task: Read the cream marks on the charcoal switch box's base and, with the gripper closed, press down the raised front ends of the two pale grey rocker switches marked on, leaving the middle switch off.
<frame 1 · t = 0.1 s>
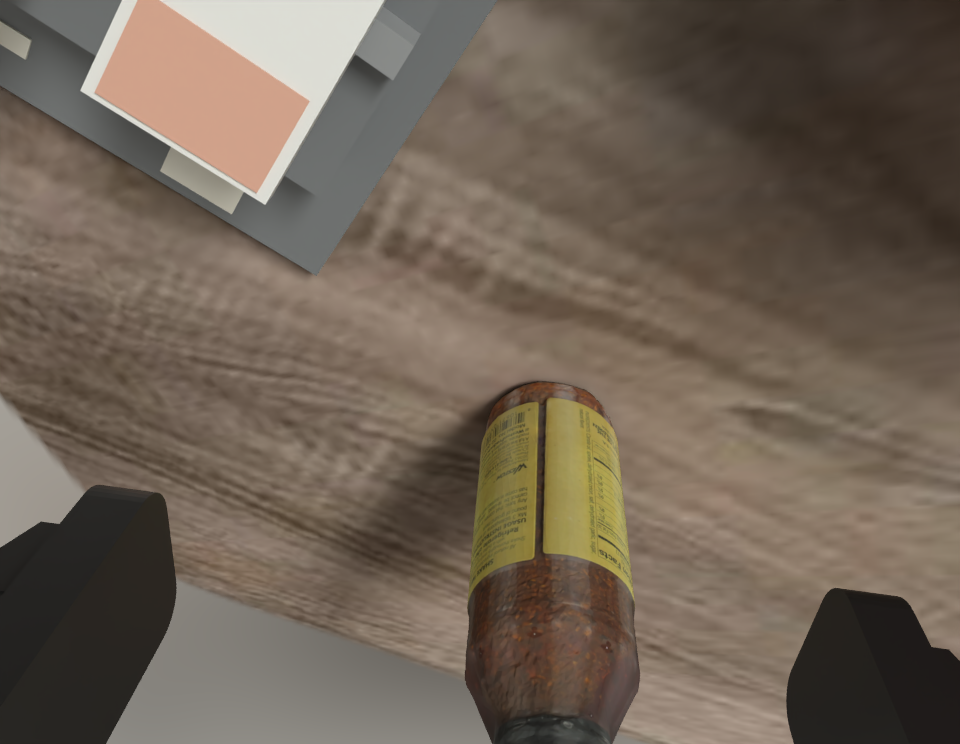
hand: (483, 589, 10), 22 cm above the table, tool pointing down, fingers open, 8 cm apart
sauce bottle: (554, 421, 38), on the table
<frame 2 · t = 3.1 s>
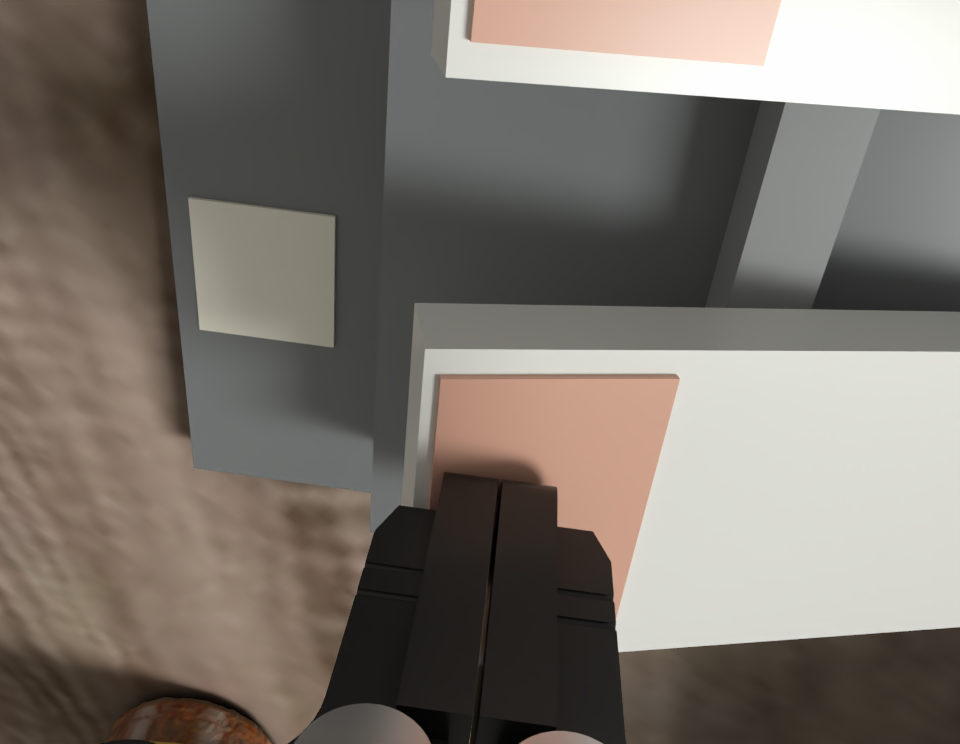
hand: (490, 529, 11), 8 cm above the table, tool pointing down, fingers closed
switch 1: (738, 491, 12), point 6 cm above the table, hinge at -15.0°, touching gripper
sauce bottle: (210, 743, 27), on the table
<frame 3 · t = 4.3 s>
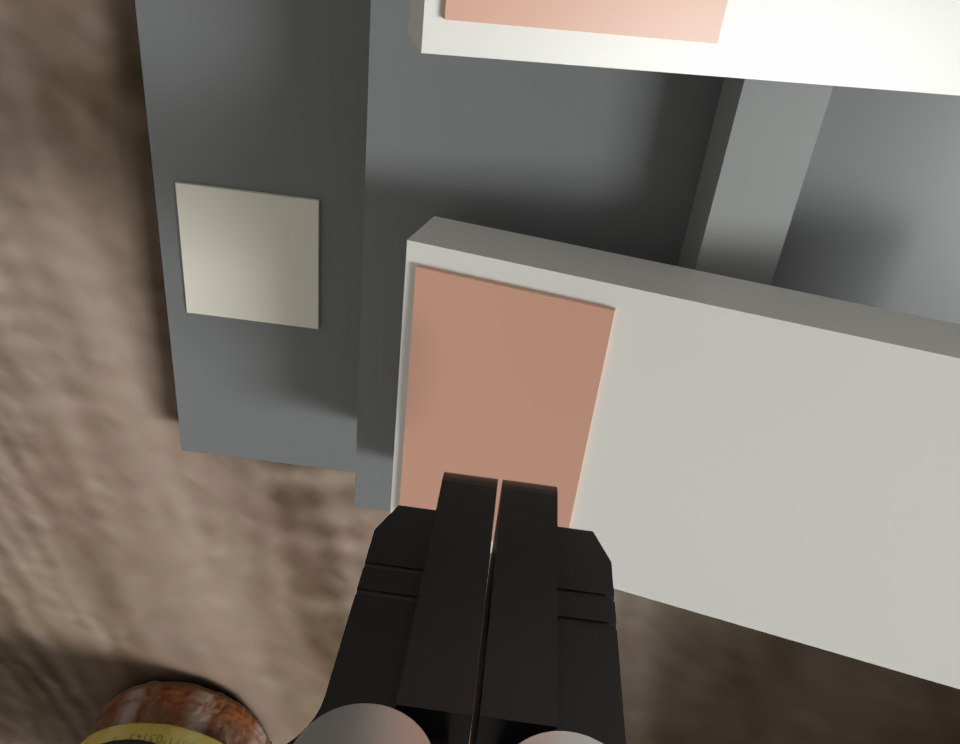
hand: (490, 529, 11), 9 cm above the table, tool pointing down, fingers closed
switch 1: (703, 455, 13), point 6 cm above the table, hinge at 12.7°
sauce bottle: (198, 727, 28), on the table
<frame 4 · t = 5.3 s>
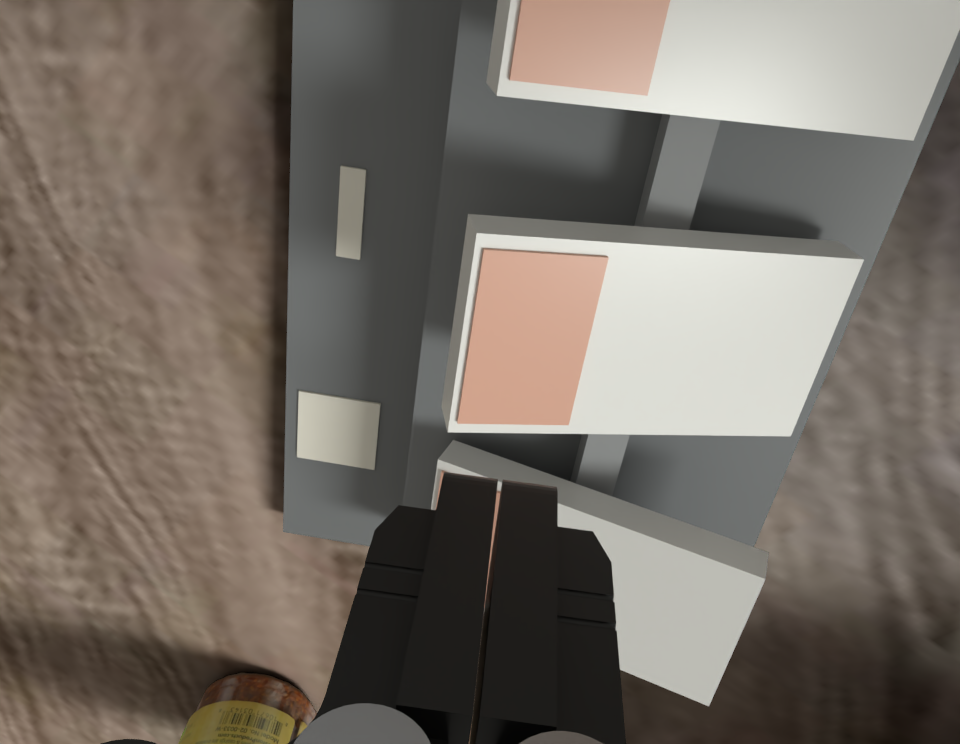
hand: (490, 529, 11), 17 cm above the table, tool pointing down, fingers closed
switch 2: (645, 336, 21), point 6 cm above the table, hinge at -15.0°
switch 1: (578, 572, 25), point 6 cm above the table, hinge at 17.1°
sauce bottle: (267, 705, 40), on the table
switch box: (627, 247, 26), on the table
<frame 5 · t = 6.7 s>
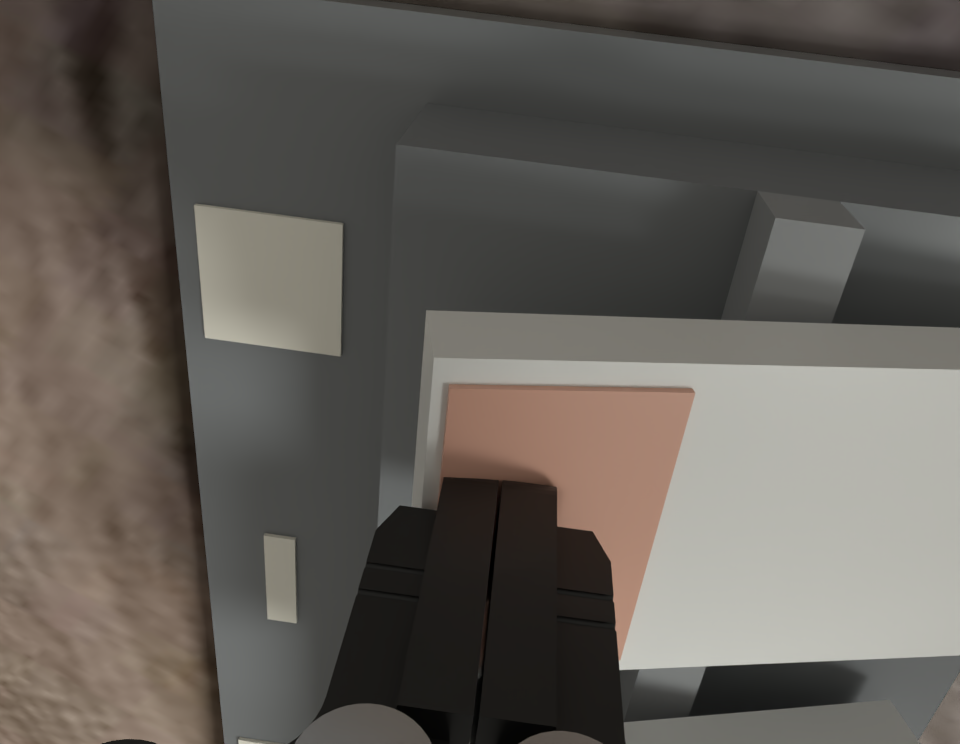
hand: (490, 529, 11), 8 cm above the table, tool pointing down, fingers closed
switch box: (621, 600, 21), on the table
switch 3: (756, 508, 12), point 6 cm above the table, hinge at -13.1°, touching gripper
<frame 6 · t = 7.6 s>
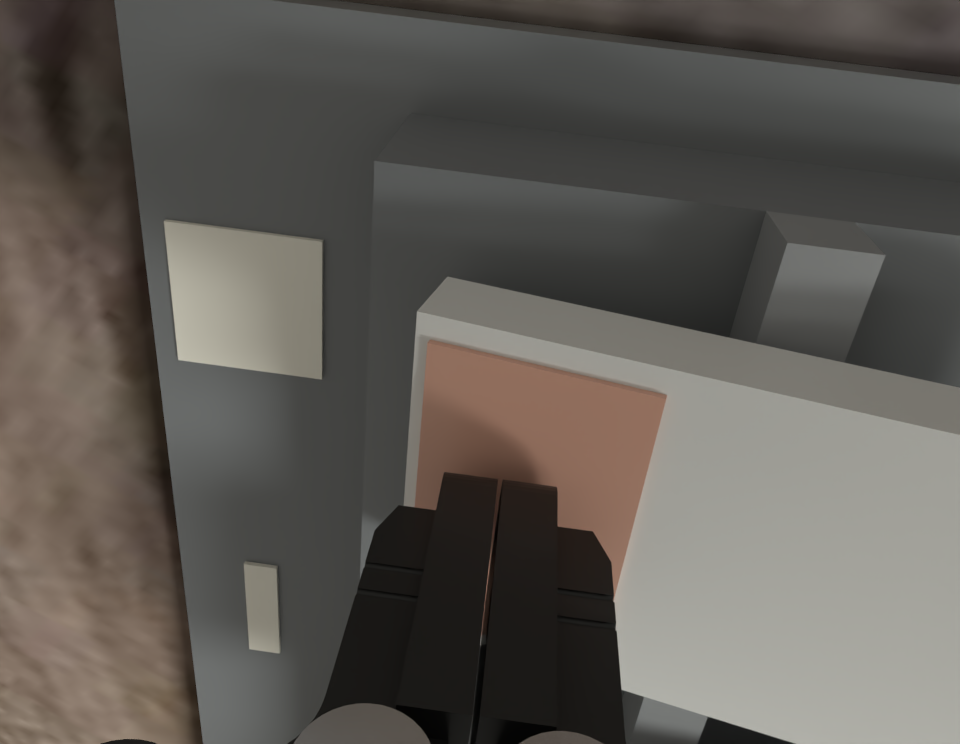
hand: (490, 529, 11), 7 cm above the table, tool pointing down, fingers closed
switch box: (618, 627, 21), on the table
switch 3: (764, 555, 11), point 6 cm above the table, hinge at 11.3°
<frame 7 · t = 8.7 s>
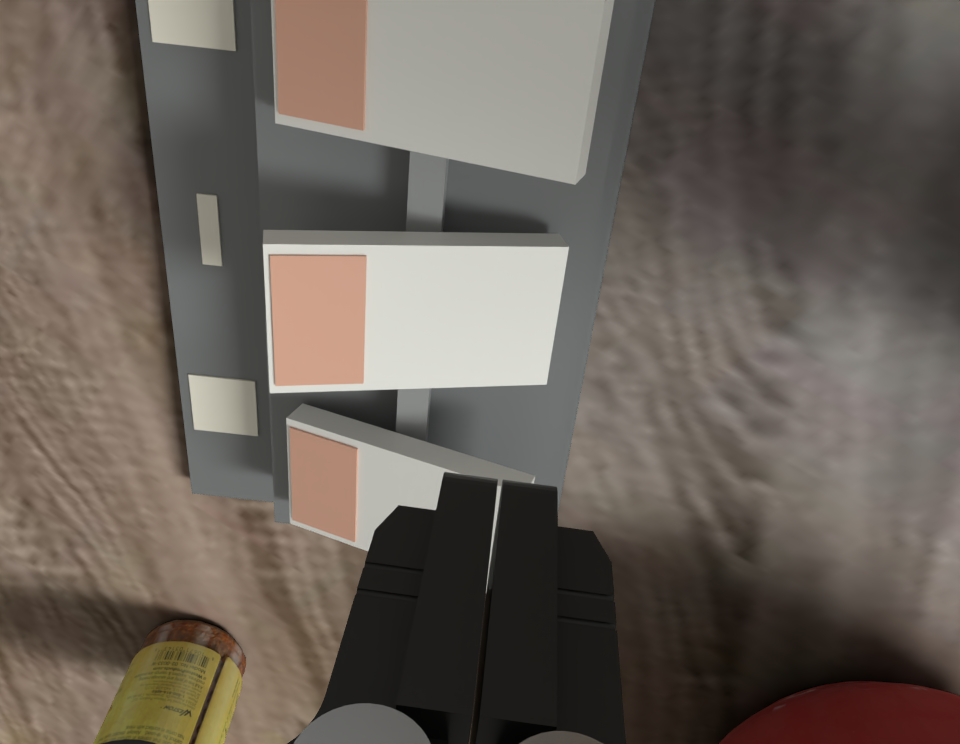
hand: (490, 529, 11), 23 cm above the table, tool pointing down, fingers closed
switch 2: (415, 313, 28), point 6 cm above the table, hinge at -15.0°
switch 1: (403, 501, 32), point 6 cm above the table, hinge at 18.1°
sauce bottle: (202, 649, 47), on the table
switch box: (434, 245, 33), on the table
switch 3: (430, 54, 23), point 6 cm above the table, hinge at 17.5°
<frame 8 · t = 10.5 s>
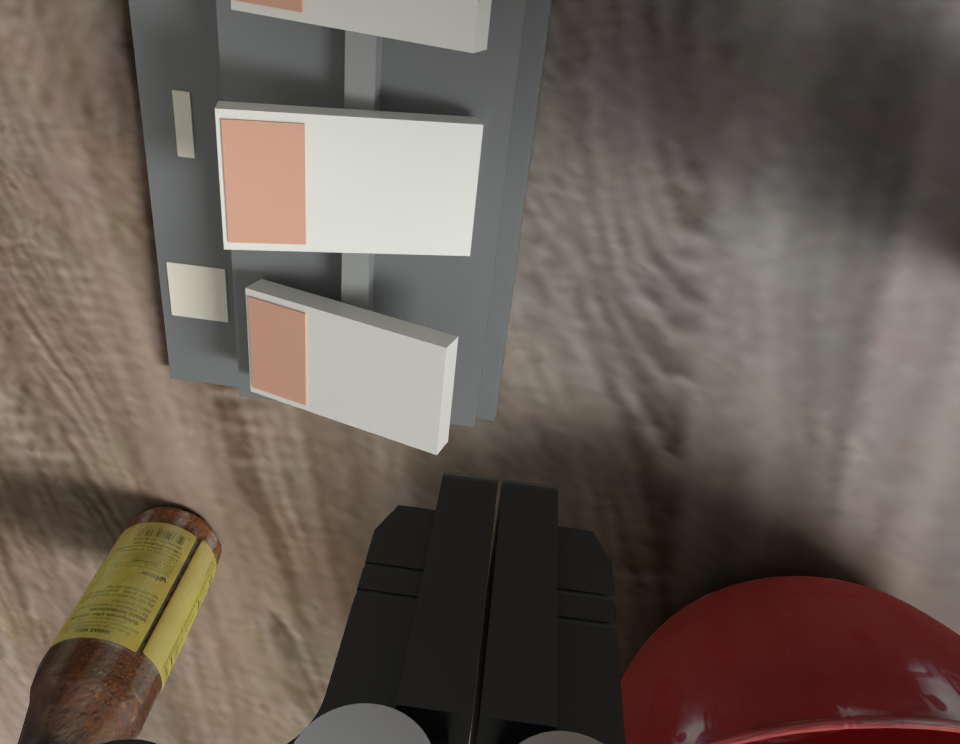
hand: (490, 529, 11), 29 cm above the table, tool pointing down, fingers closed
mixing bowl: (772, 653, 52), on the table
switch 2: (351, 183, 32), point 6 cm above the table, hinge at -15.0°
switch 1: (347, 366, 36), point 6 cm above the table, hinge at 18.1°
sauce bottle: (182, 538, 52), on the table
switch box: (381, 143, 37), on the table
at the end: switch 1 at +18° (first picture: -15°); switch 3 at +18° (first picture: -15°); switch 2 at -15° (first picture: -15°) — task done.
